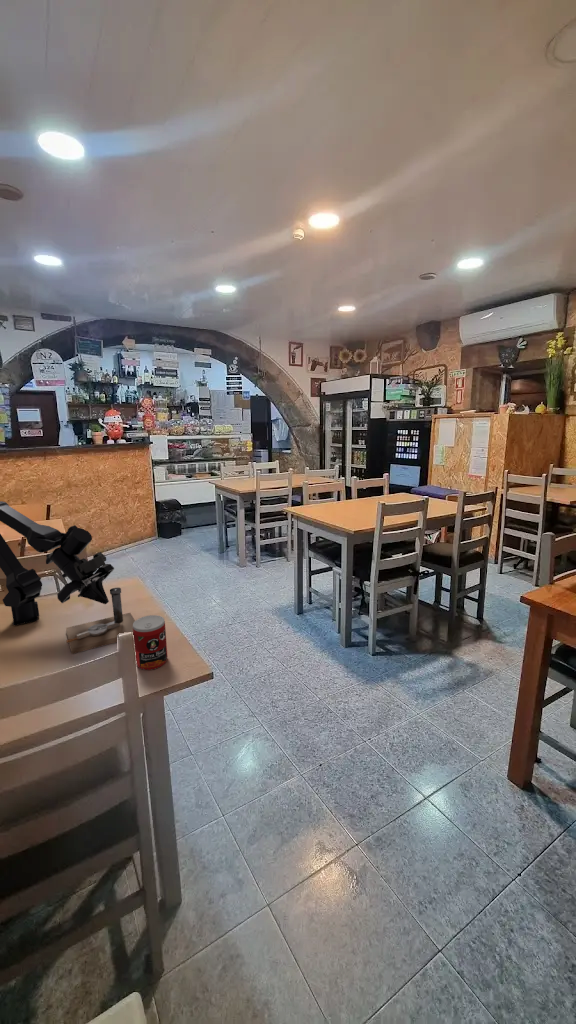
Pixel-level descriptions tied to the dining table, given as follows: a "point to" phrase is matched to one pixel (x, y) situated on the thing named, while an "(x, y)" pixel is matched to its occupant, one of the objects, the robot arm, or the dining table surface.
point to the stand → (100, 640)
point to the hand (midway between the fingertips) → (107, 602)
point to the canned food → (150, 642)
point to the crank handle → (118, 619)
